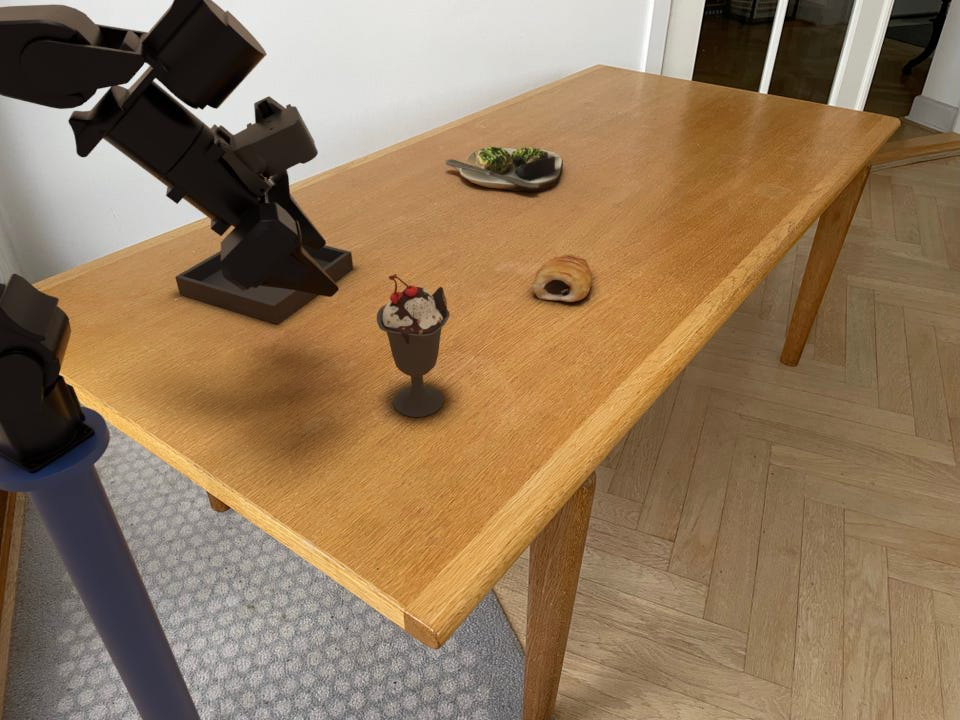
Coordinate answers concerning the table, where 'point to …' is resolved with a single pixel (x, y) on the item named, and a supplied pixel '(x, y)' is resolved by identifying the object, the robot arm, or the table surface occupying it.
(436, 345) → the sundae
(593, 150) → the table surface
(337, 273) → the baking tray
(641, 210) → the table surface
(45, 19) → the robot arm
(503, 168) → the salad plate
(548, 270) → the pastry
